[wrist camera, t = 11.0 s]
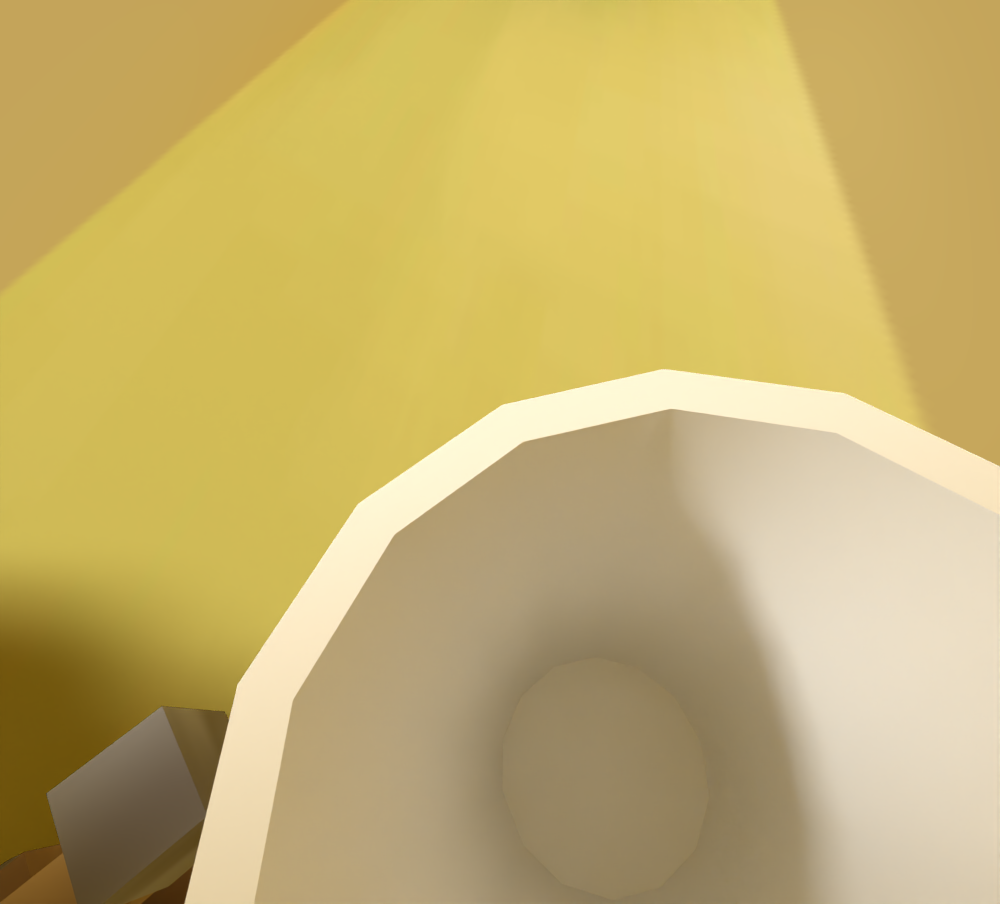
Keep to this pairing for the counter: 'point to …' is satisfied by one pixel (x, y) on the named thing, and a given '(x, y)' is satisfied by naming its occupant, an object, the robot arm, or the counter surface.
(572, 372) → the counter surface
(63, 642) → the counter surface
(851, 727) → the foam cup
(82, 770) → the catapult
